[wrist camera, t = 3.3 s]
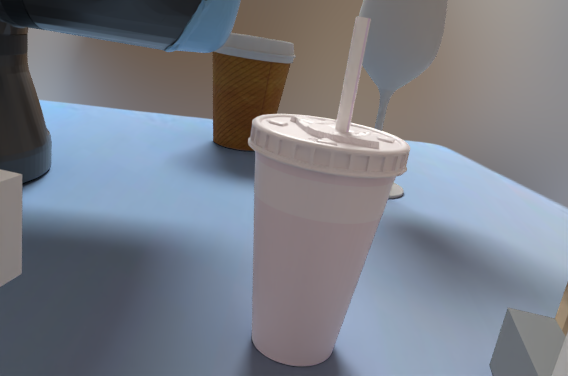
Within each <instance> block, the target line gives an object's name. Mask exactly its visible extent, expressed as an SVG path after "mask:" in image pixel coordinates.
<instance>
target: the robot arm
mask: <svg viewBox="0 0 568 376" xmlns="http://www.w3.org/2000/svg"><path fill="white" fill-rule="evenodd" d="M240 1H241V0H0V287H1V286H3V285H4V284H6V283H7V282H9V281H11V280H12V279H14V278H16V277H17V276H19V275H21V274H22V183H24V182H27V181H30V180H32V179H35V178H37V177H39V176H41V175H43V174H44V173H46V172H47V171H48V170H49V169H50V167H51V146H52V142H51V135H50V132H49V131H48V130H47V128H46V125H45V121H44V117H43V113H42V110H41V106H40V103H39V99H38V97H37V93H36V90H35V87H34V84H33V81H32V78H31V75H30V72H29V68H28V58H27V33H28V27H29V28H36V29H43V30H49V31H55V32H61V33H66V34H72V35H78V36H85V37H90V38H96V39H102V40H107V41H113V42H120V43H125V44H131V45H137V46H143V47H149V48H155V49H161V50H164V51H167V52H172V51H175V50H180V51H190V52H202V53H208V52H213V51H216V50H218V49H219V48H221V47H222V46H223V45H224V44H225V42H226V41H227V39H228V38H229V36H230V33H231V30H232V28H233V25H234V22H235V19H236V16H237V12H238V9H239V5H240ZM552 376H568V332H567V335H566V338H565V340H564V343H563V346H562V349H561V351H560V354H559V357H558V360H557V362H556V365H555V368H554V371H553V373H552Z"/></svg>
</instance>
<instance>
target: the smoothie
mask: <svg viewBox="0 0 568 376" xmlns="http://www.w3.org/2000/svg"><path fill="white" fill-rule="evenodd" d="M370 21H371V19H370V18H365V17H356V19H355V24H354V30H353V35H352V40H351V46H350V51H349V57H348V62H347V68H346V73H345V78H344V83H343V89H342V94H341V99H340V105H339V110H338V116H337V120H334V119H328V118H321V117H314V116H306V115H295V114H267V115H261V116H257V117H256V118H254V119H253V120H252V128H251V135H250V138H248V145H249V146H250V147H251V148H252V149H253V150H254V151H255V180H254V243H253V298H252V341H253V343H254V345H255V347H256V348H257V349H258V350H259V351H260V352H261V353H262V354H263V355H265V356H266V357H268V358H270V359H272V360H274V361H276V362H279V363H282V364H286V365H291V366H312V365H316V364H319V363H322V362H324V361H325V360H327V359H328V358H329V357H330V355H331V354H332V351H333V348H334V345H335V343H336V340H337V337H338V334H339V332H340V329H341V326H342V323H343V321H344V318H345V315H346V312H347V310H348V307H349V304H350V302H351V299H352V296H353V293H354V291H355V288H356V285H357V282H358V280H359V277H360V274H361V271H362V269H363V266H364V263H365V260H366V258H367V255H368V252H369V249H370V247H371V244H372V241H373V238H374V236H375V233H376V230H377V227H378V225H379V222H380V219H381V216H382V215H383V212H384V209H385V206H386V203H387V200H388V197H389V194H390V191H391V189H392V186H393V183H394V180H395V178H396V176H400V175H402V174H403V173H404V172H406V171H407V168H406V164H407V160H408V155H409V151H410V147H409V145H408V144H407V143H406V142H405V141H404V140H402V139H400V138H398V137H396V136H394V135H392V134H389V133H386V132H383V131H380V130H377V129H374V128H370V127H367V126H362V125H358V124H354V123H351V119H352V114H353V109H354V103H355V98H356V93H357V88H358V83H359V78H360V73H361V67H362V62H363V57H364V52H365V47H366V42H367V37H368V32H369V27H370Z"/></svg>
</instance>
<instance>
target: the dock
mask: <svg viewBox="0 0 568 376" xmlns="http://www.w3.org/2000/svg"><path fill="white" fill-rule="evenodd" d="M565 338H566V336H565V334H564V333H563V331H562V329H561V328H560V326H559V325H558V323H557V321H556V320H555V318H550V317H546V316H542V315H537V314H533V313H529V312H524V311H520V310H515V309H511V308H508V309H507V312H506V315H505V318H504V321H503V324H502V327H501V330H500V334H499V337H498V340H497V343H496V346H495V349H494V352H493V355H492V359H491V362H490V368H491V371H492V374H493V376H552V373H553V371H554V368H555V365H556V362H557V360H558V357H559V354H560V351H561V349H562V346H563V343H564V340H565Z"/></svg>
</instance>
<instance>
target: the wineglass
mask: <svg viewBox="0 0 568 376" xmlns="http://www.w3.org/2000/svg"><path fill="white" fill-rule="evenodd" d="M447 1H448V0H364V1H363V4H362V7H361V11H360V14H359V17H365V18H370V19H371V21H370V27H369V32H368V37H367V42H366V47H365V52H364V57H363V62H362V65H363V67H364V68H365V70H366V71H367V73H368V74H369V76H370V77H371V78H372V80H373V81H374V83H375V84H376V85H377V86H378V88H379V92H380V105H379V110H378V115H377V119H376V124H375V129H377V130H380V131H382V128H383V123H384V119H385V114H386V109H387V105H388V103H389V100H390V97H391V96H392V94H393V93H394V92H395V91H396V90H397V89H399V88H400V87H402V86H404V85H405V84H407V83H408V82H410V81H412V80H413V79H415V78H416V77H418V76H419V75H420V74H421V73H422V72H423V71H424V70H426V69H427V68H428V67H429V66H430V64H431V63H432V61H433V60H434V58H435V57H436V55H437V52H438V49H439V47H440V44H441V40H442V36H443V31H444V24H445V18H446V9H447ZM402 195H403V189H402V188H401V187H400V186H399V185H397V184H395V183H393V186H392V189H391V191H390V194H389V197H388V198H397V197H400V196H402Z"/></svg>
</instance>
